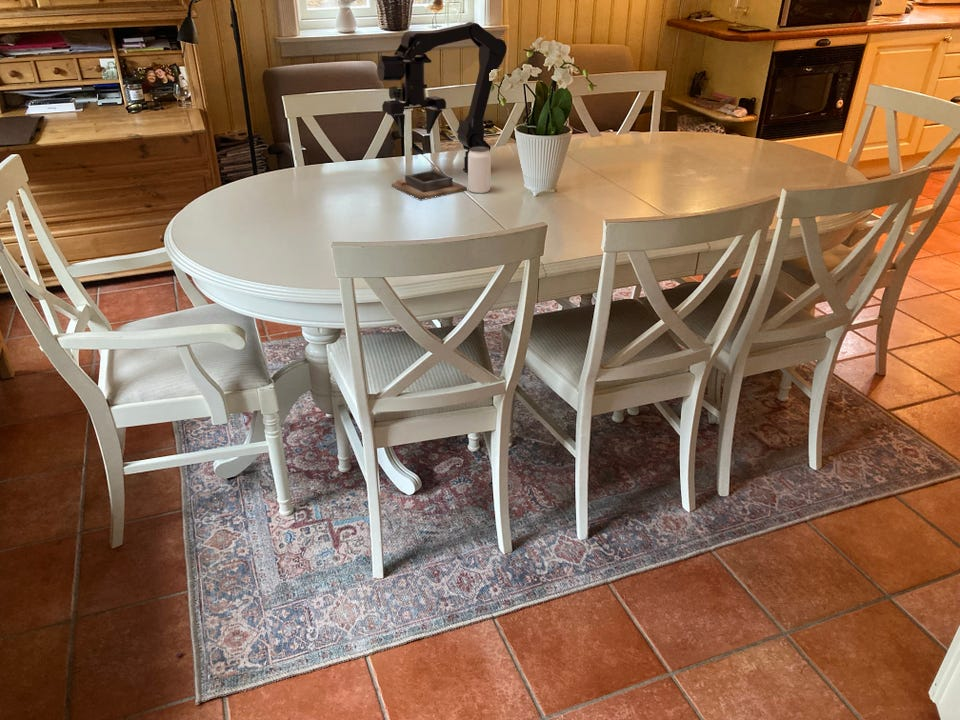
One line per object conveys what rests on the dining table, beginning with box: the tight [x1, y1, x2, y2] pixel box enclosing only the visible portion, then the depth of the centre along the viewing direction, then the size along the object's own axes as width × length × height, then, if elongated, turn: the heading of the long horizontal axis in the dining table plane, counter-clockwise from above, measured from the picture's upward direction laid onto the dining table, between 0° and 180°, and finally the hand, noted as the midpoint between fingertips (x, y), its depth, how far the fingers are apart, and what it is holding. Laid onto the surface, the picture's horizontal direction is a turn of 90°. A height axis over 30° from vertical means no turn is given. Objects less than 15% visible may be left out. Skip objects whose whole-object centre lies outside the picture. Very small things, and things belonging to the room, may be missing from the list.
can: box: [467, 147, 492, 194], centre depth 216 cm, size 6×6×12 cm
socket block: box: [391, 169, 468, 200], centre depth 220 cm, size 16×16×4 cm
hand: (415, 135), depth 222 cm, fingers open, 9 cm apart
